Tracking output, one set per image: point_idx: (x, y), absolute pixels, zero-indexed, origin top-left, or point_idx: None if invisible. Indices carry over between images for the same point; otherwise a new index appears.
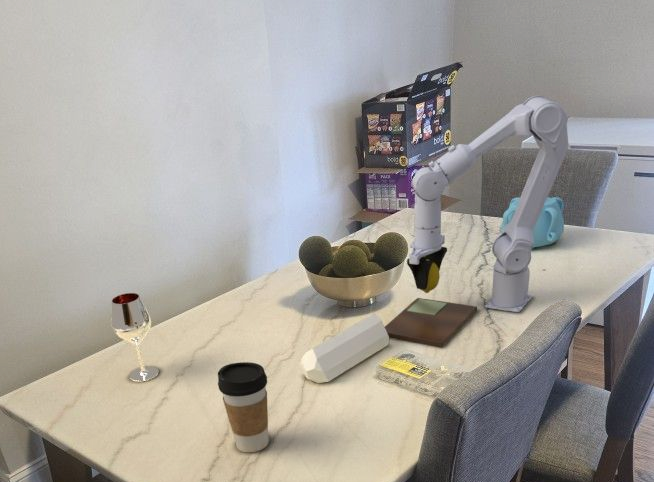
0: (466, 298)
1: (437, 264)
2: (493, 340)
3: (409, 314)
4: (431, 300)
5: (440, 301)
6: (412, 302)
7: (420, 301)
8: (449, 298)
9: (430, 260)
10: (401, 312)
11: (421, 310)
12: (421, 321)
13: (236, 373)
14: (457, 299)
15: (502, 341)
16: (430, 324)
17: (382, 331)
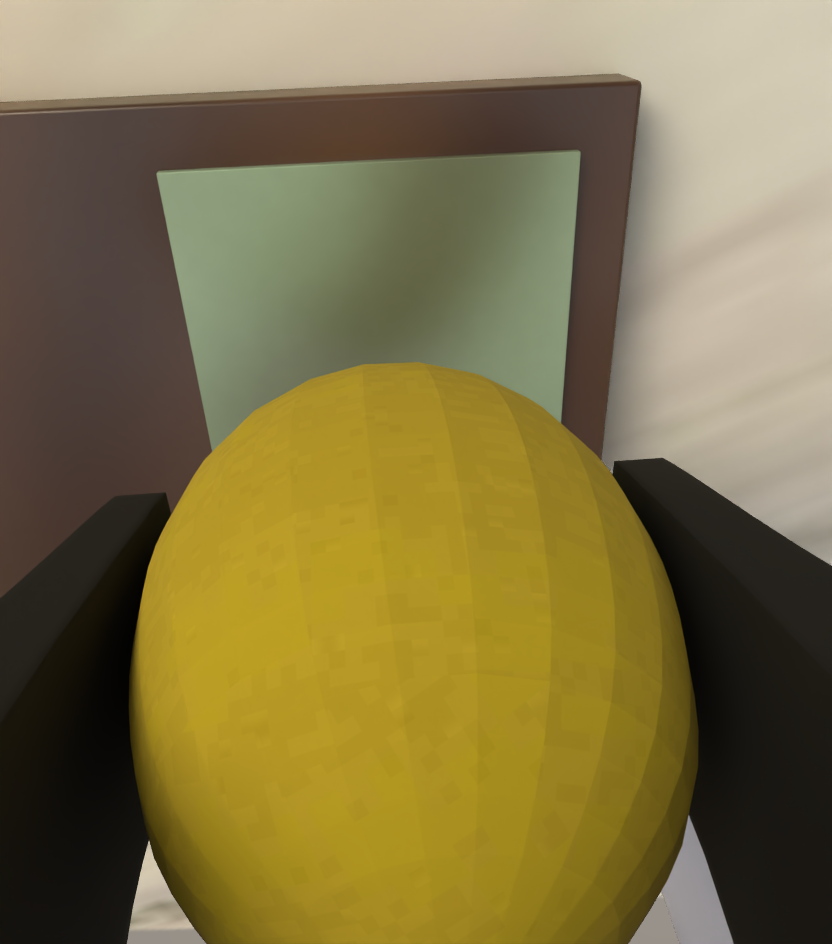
0: (822, 511)
1: (723, 857)
2: (162, 890)
3: (84, 260)
4: (596, 305)
5: (593, 410)
6: (455, 95)
7: (502, 205)
8: (804, 375)
9: (803, 820)
10: (71, 120)
11: (251, 350)
12: (13, 471)
13: None
14: (787, 453)
15: (180, 920)
16: (15, 572)
17: None
